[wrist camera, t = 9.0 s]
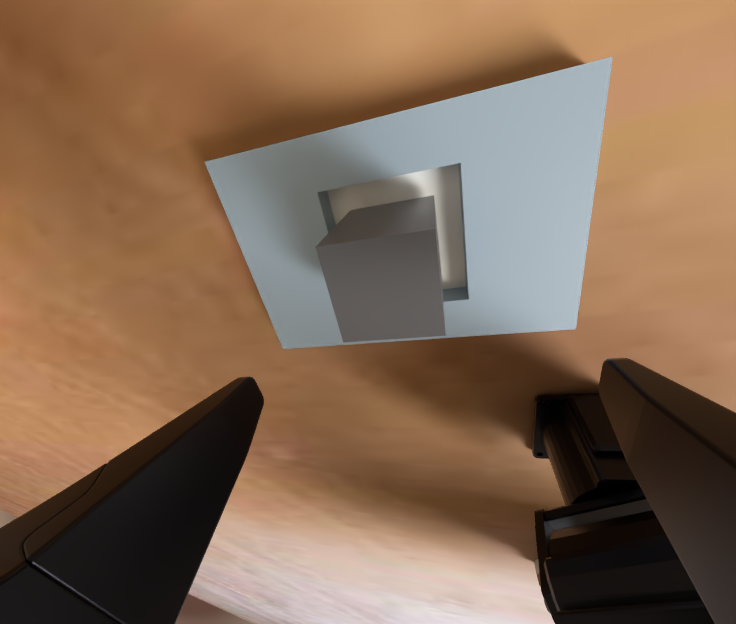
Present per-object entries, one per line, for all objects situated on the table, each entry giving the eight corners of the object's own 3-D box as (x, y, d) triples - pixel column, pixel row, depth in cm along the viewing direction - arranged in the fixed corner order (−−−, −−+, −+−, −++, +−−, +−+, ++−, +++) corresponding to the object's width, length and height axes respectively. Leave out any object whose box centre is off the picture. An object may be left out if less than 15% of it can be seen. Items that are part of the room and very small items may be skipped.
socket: (562, 310, 19) (575, 329, 17) (293, 332, 23) (282, 349, 22) (589, 65, 13) (612, 56, 11) (226, 158, 18) (204, 162, 16)
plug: (441, 269, 18) (445, 335, 13) (369, 278, 19) (343, 342, 14) (433, 192, 16) (435, 228, 10) (353, 206, 17) (315, 246, 12)
